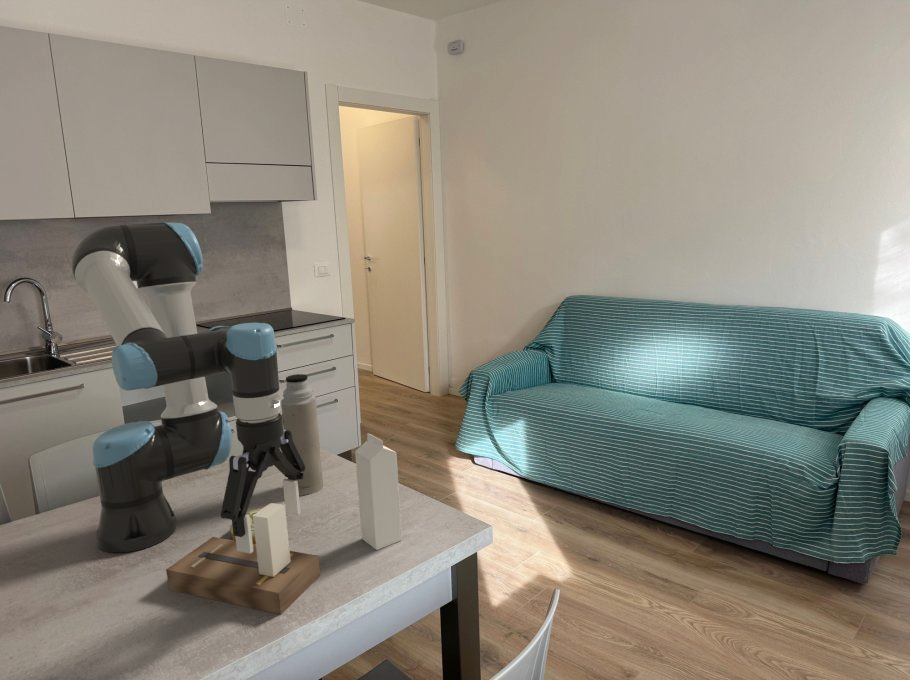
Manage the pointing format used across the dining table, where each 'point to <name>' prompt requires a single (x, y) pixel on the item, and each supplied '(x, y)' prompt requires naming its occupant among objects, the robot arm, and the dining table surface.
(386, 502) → the milk
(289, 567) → the brown flat block
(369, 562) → the dining table surface
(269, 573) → the fader tab
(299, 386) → the thermos bottle
